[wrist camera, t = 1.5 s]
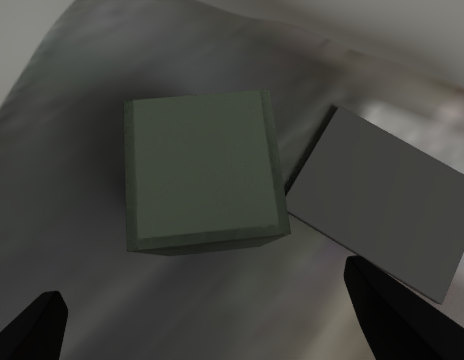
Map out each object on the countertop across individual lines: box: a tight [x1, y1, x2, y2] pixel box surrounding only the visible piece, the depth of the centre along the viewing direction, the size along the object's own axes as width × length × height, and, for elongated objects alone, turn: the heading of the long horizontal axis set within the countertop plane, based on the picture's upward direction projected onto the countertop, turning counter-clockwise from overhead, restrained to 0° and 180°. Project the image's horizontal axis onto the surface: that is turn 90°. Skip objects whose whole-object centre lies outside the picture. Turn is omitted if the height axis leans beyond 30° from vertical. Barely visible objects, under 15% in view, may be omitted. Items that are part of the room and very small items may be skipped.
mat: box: [285, 106, 464, 304], centre depth 22 cm, size 12×9×1 cm
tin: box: [123, 89, 291, 256], centre depth 17 cm, size 6×6×10 cm
